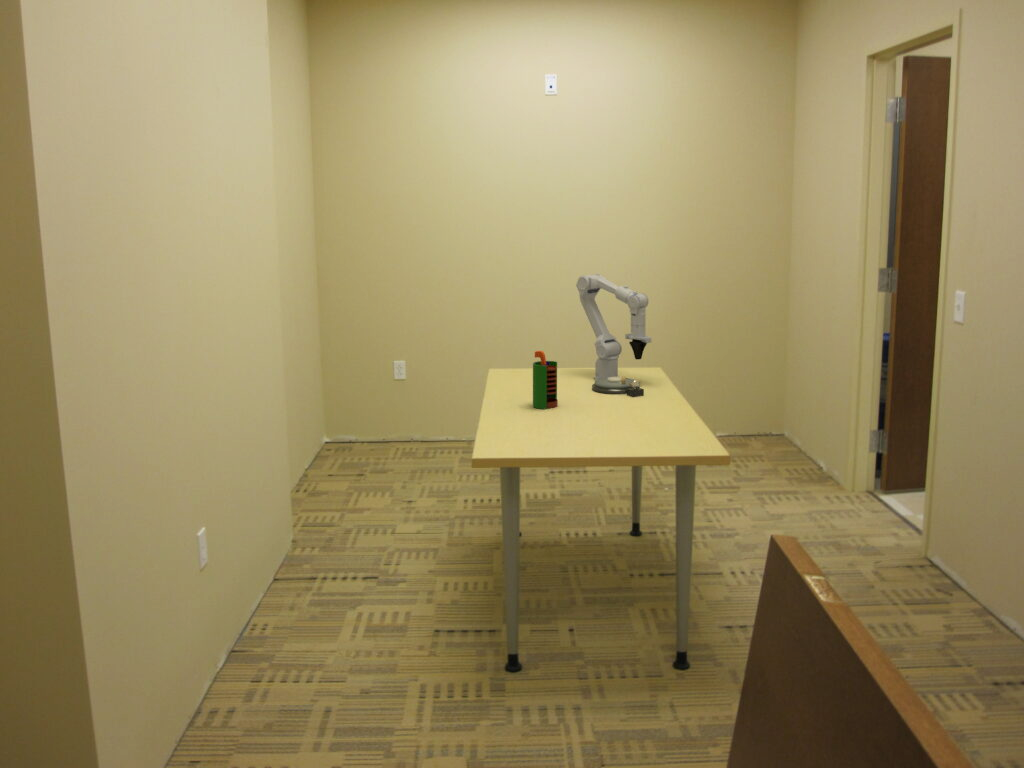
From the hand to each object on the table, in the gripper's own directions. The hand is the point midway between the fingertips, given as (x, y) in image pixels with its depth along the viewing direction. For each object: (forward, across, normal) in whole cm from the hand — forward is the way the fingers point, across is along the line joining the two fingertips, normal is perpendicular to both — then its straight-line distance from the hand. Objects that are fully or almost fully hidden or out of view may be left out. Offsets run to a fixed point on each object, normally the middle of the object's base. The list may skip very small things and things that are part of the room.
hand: (638, 359), depth 354 cm
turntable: (+9, +2, -12) cm, 15 cm away
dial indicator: (+11, +14, -12) cm, 22 cm away
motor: (+11, +10, -49) cm, 51 cm away
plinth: (+10, +2, -12) cm, 16 cm away
